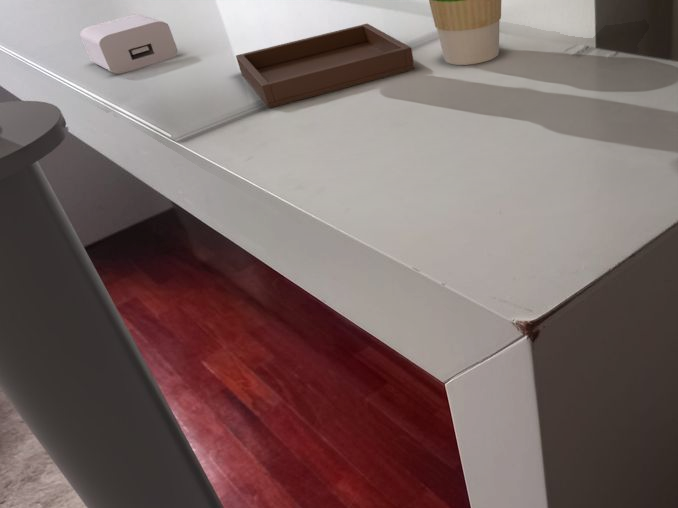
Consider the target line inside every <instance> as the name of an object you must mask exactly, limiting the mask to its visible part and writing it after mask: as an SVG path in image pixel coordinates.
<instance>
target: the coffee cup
mask: <svg viewBox="0 0 678 508" xmlns="http://www.w3.org/2000/svg"><path fill="white" fill-rule="evenodd" d="M428 2H429V7H430V10H431V15H432V18H433V23H434V27H435V28H436V30H437V34H438V35H437V36H438V39H439V42H440V46H441V52H442V56H443V60H444V62H445V63H446V64H450V65H456V66H464V65H465V66H468V65H475V64H480V63H481V64H482V63H484V62H488V61H490V60H493V59H495V58H496V57H498V55H499V53H500V21H501V19H502V18H501V17H502V0H428Z"/></svg>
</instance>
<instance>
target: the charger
mask: <svg viewBox="0 0 678 508" xmlns="http://www.w3.org/2000/svg"><path fill="white" fill-rule="evenodd" d="M79 37H80V39H81V41H82V43H83V46H84V48H85V50H86V52H87V56H88V57H89V59H90V61H91V62H92V63H94V64H96V65H98V66H100V67H102V68H104V69H106V70H107V71H109V72H111V73H113V74H116V75H120V74H124V73H127V72H131V71H134V70H138V69H141V68H144V67H147V66H151V65H154V64H158V63H160V62H163V61H167V60H170V59H173V58H174V57H176V56H177V54H178V52H179V51H178V47H177V44H176V42H175V39H174V36H173V34H172V31H171V27H170V25H169V24H168V23H167V22H165V21H162V20H159V19H156V18H154V17H153V18H152V17H150V16H147V15H144V14H140V13H139V14H138V13H137V14H130V15H127V16H122V17H120V18H116V19H112V20H109V21H104V22H101V23H97V24H93V25H90V26H87V27H85V28H84V29H82V30H81V31H80V33H79Z"/></svg>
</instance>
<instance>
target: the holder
mask: <svg viewBox="0 0 678 508" xmlns="http://www.w3.org/2000/svg"><path fill="white" fill-rule="evenodd" d="M235 59H236V61H237V64H238V67H239V71H240V74H241V76H242V77H243V78H244V79H245V81H246V82H247V83H248V85H249V86H250V87H251V88H252V89H253V90H254V92H255V93H256V95H258V97H259V98H260V99H261V100H262V102H263V103H264V104H265V105H266V107H268V108H269V109H271V108H275V107H278V106H279V107H280V106H282V105H286V104H290V103H294V102H298V101H301V100H305V99H309V98H312V97H316V96H320V95H323V94H327V93H332V92H335V91H339V90H342V89H345V88H349V87H352V86H357V85H360V84H364V83H367V82H372V81H375V80H378V79H383V78H387V77H390V76H394V75H398V74H402V73H405V72H408V71H413V70H415V68H416V67H415V62H414V55H413V50H412V47H411V46H409V45H408V44H406V43H404V42H402V41H400V40H398V39H397V38H395V37H393V36H391V35H389V34H387V33H385V32H384V31H382V30H380V29H378V28H377V27H374V26H373V25H371V24H369V23H364V24H359V25H355V26H351V27H347V28H343V29H338V30H335V31H330V32H327V33H323V34H319V35H318V34H317V35H314V36H309V37H305V38H302V39H298V40H294V41H289V42H285V43H281V44H277V45H273V46H269V47H265V48H261V49H257V50H252V51H248V52H245V53H240V54H236V55H235Z"/></svg>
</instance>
